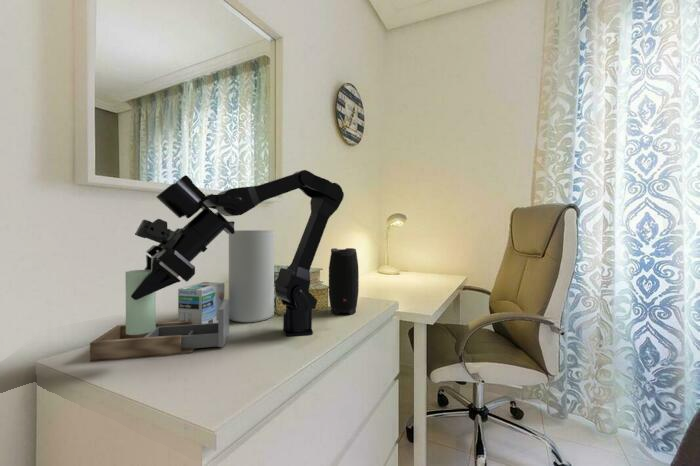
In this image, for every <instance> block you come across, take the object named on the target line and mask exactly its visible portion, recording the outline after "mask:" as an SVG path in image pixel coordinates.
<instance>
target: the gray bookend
mask: <svg viewBox="0 0 700 466" xmlns="http://www.w3.org/2000/svg"><path fill="white" fill-rule="evenodd" d="M229 334H230V318H229V298H227V299H226V298H224V301H223V303H222V305H221V306H220V308H219V310H218V323H206V324H190V325H174V326H159V327H156V329H155V330H154V331H152V332H150V333H148V334H147V335H146V336H145V337H159V336H173V335H181V349H191V348H195V349H201V348H202V349H204V348H212V347H213V348H214V347H218V348H223V347H224V346H225V344H226V341H227V339H228V336H229Z"/></svg>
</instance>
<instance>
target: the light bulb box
mask: <svg viewBox="0 0 700 466" xmlns="http://www.w3.org/2000/svg"><path fill="white" fill-rule="evenodd" d="M177 291H178V292H177V293H178V294H177V295H178V299H177V301H178V302H177V303H178V304H177V306H178V308H177V312H178V314H177V315H178V316H177V318H178V319H177V322H180V321H193V324H206V323H218V310H219V308H220V306H221V305H222V303H223V301H224V300H225V282H213V281H212V282H210V281H202V282H198V283H196V284H192V285H188V286H184V287H180V288H178V290H177Z"/></svg>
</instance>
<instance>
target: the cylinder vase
mask: <svg viewBox="0 0 700 466" xmlns="http://www.w3.org/2000/svg"><path fill="white" fill-rule="evenodd" d="M234 231H235V233H234V234H228V299H229V320H231V321H233V322H237V323H257V322H263V321H265V320H266V321H267V320H269V319H270V318H273V316H274V314H275V283H274V282H275V230H247V229H246V230H243V229H241V230H240V229H239V230H237V229H236V230H235V229H234Z"/></svg>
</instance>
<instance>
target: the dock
mask: <svg viewBox="0 0 700 466" xmlns="http://www.w3.org/2000/svg"><path fill="white" fill-rule="evenodd" d="M190 324H193V321H180V322H178V321H164V322H156V327H159V326H174V325H190ZM149 333H150V332H149ZM147 334H148V333H145V334H139V335H128V334H126V324H118V325H116V326H114V327H112V328H111V329H109V330H108V331H106V332H105V333H103V334H102V335H100V336H99V337H97V338H95V339H94V340H93V341H91V342H89V361H90V362H91V363H92V362H102V361H113V360H124V359H125V360H126V359H138V358H149V357H160V356H162V357H163V356H172V355H174V356H175V355H184V354H193V352H194V350H195V349H196V348H191V349H181V335H173V336H159V337H145V336H146V335H147Z"/></svg>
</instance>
